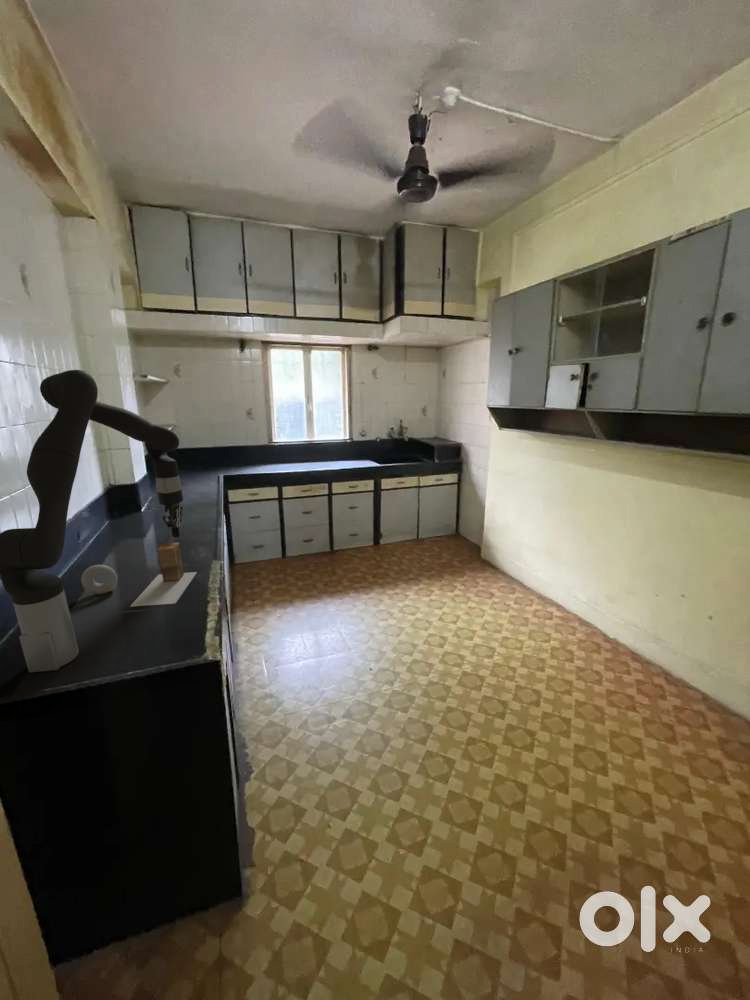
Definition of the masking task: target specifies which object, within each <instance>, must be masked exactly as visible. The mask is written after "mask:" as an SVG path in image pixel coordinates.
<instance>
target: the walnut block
mask: <svg viewBox="0 0 750 1000" xmlns="http://www.w3.org/2000/svg"><path fill="white" fill-rule="evenodd" d="M180 546H181V545H180V542H164V543H162V544H161V545H160V546H159V547H158V548H157V550H158V558H159V564H160V569H161V574H162V576H163V582H173V581H180V579H181V578H182V577H183V575H184V573H185V572H184V566H183V560H182V552H181V547H180Z"/></svg>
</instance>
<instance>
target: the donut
mask: <svg viewBox="0 0 750 1000" xmlns="http://www.w3.org/2000/svg"><path fill="white" fill-rule="evenodd" d="M96 576H97V577H98V576H101V577H103V578H104V579H105V580H104V582H103V583H100V582H99V583H98V582H97V581H95V577H96ZM118 578H119V577H118V574H117V572H116V571H115V570H114V569H113V568H112V567H110V566H109V565H105V564H95V565H91V566H89V567H88V568H86V569H85V570H84V571H83V572H82V575H81V577H80V579H81V580H80V583H81V584H82V587H83V588H84V589H85V590H86V591H87V592H89V593H91V594H95V595H103V594H108V593H109V592H111V591H113V590H114V588H115V587H117V584H118V582H119V581H118V580H119V579H118Z"/></svg>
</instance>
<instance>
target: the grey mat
mask: <svg viewBox="0 0 750 1000" xmlns="http://www.w3.org/2000/svg"><path fill="white" fill-rule="evenodd" d="M197 573H198V572H197V571H193V572H192V571H191V572H184V575H183V577H182V578H181V579H180V581H173V582H163V576H162V573H160V574H157V576H155V578H154V579H153V580H152V581H151V582H150V583H149V585H148V586H147V587H146V588H145V589H144V590H143V591H142V593H141V594H139V595H138V597H137V598H136V599H135V600H134V601H133V602H132V603H131V605H129V607H131V608H132V607H142V606H157V605H158V606H159V605H173V604H174V605H175V604H177V602H178V600H179V599H180V597H181V596H182V595H183V593H184V592H185V591H186V589H187V587H188V586H189V584H190V583H191V582H192V581H193V579H194V578H195V576H196V574H197Z"/></svg>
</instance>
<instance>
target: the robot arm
mask: <svg viewBox="0 0 750 1000" xmlns="http://www.w3.org/2000/svg"><path fill="white" fill-rule="evenodd" d="M39 391H40V394H41V396H42V398H43V400H44V401H45V402H46V403H47V404H48V405H50V406H51V407H53V408H54V409H57V411H56V414H55V415H54V417H53V418H52V420H51V421H50V422H49V424H48V425H47V426H46V428H45V429H44V430H43V431H42V433H41V434H40V435H39V436H38V438H37V439H36V441H35V443H34V445H33V446H32V449H31V452H30V456H29V458H28V459H29V460H28V463H27V467H26V477H27V480H28V483H29V484H30V486H31V489H32V490H33V492H34V495H35V496H36V498H37V501H38V504H39V505H38V506H39V507H38V508H39V512H38V517H37V522H36V525H35V527H27V528H25V527H22V528H9V529H5V530H3V531H2V532H0V581H1V584H2V587H3V589H4V591H5V592H6V593H7V595H9V596H10V597H11V599H12V603H13V607H14V612H15V614H16V619H17V622H18V626H19V629H20V633H21V635H20V636H19V641H20V645H21V648H22V649H21V650H22V653H23V656H24V660H25V664H26V667H27V670H28V673H38V672H49V671H51V670H52V671H57V670H59V669H60V668H62V667H63V666H65V665H66V664H69V663H70V662H72V661H73V660H74V659H76V658H77V656H78V655H79V652H80V651H79V647H78V641H77V638H76V634H75V630H74V626H73V625H74V624H73V622H72V617H71V613H70V609H69V604H68V600H67V595H66V592H65V588H64V584H63V581H62V579H61V577H59V576H57V575H54V574H51V573H49V572H46V571H44V570H46V569H51V568H52V567H55V565H57V563H58V562H59V561H60V559H61V557H62V555H63V551H64V547H65V540H66V539H65V538H66V530H67V521H68V511H69V508H70V507H69V506H70V499H71V495H72V491H73V486H74V483H75V479H76V475H77V472H78V466H79V462H80V456H81V453H82V452H81V451H82V448H83V443H84V441H85V440H84V439H85V435H86V431H87V427H88V424H89V421H92V422H95V423H97V424H101V425H103V426H106V427H109V428H111V429H113V430H115V431H117V432H120V433H121V434H123V435H126V436H127V437H129V438H132V439H133V440H135V441H137V442H143V443H144V447H145V449H146V451H147V454H148V457H149V458H150V461H151V463H152V465H153V468H154V474H155V475H154V476H155V486H156V492H157V493H156V494H157V498H158V503H159V505H163V506H164V514H165V516H164V515H162V520H163V522H164V523H165V525H166V526H167V528H169V529H171V535H172V537H173V538H179V537H180V536H181V527H180V526H181V523H182V518H183V510H184V508H183V506H180V503H182V502H183V501H184V496H183V489H182V483H181V479H180V478H181V477H180V476H179V468H178V463H177V462H178V461H177V460H176V459H174V458H172V457H170V456H169V455H168V453H172V452H175V451H176V450H177V449H178V448H179V446H180V439H179V437H178V435H177V434H176V433H175V432H174V431H172V430H171V429H169V428H166V427H164V426H161V425H158V424H156V423H152V422H150V421H148V420H147V419H145V418H143V417H142V416H140V415H138V414H137V413H135V412H133V411H130V410H128V409H125V408H121V407H117V406H114V405H111V404H106V403H103V402H101V401H98V400H97V399H98V396H99V395H98V394H99V391H98V386H97V382H96V381H95V379H94V378H93V376H92V375H91V374H90V373H88V372H86V371H84V370H81V369H69V370H65V371H62V372H59V373H55V374H52V375H49V376H47V377H45V378H44V379H42V381H41V383H40V385H39ZM52 671H51V672H52Z"/></svg>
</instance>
